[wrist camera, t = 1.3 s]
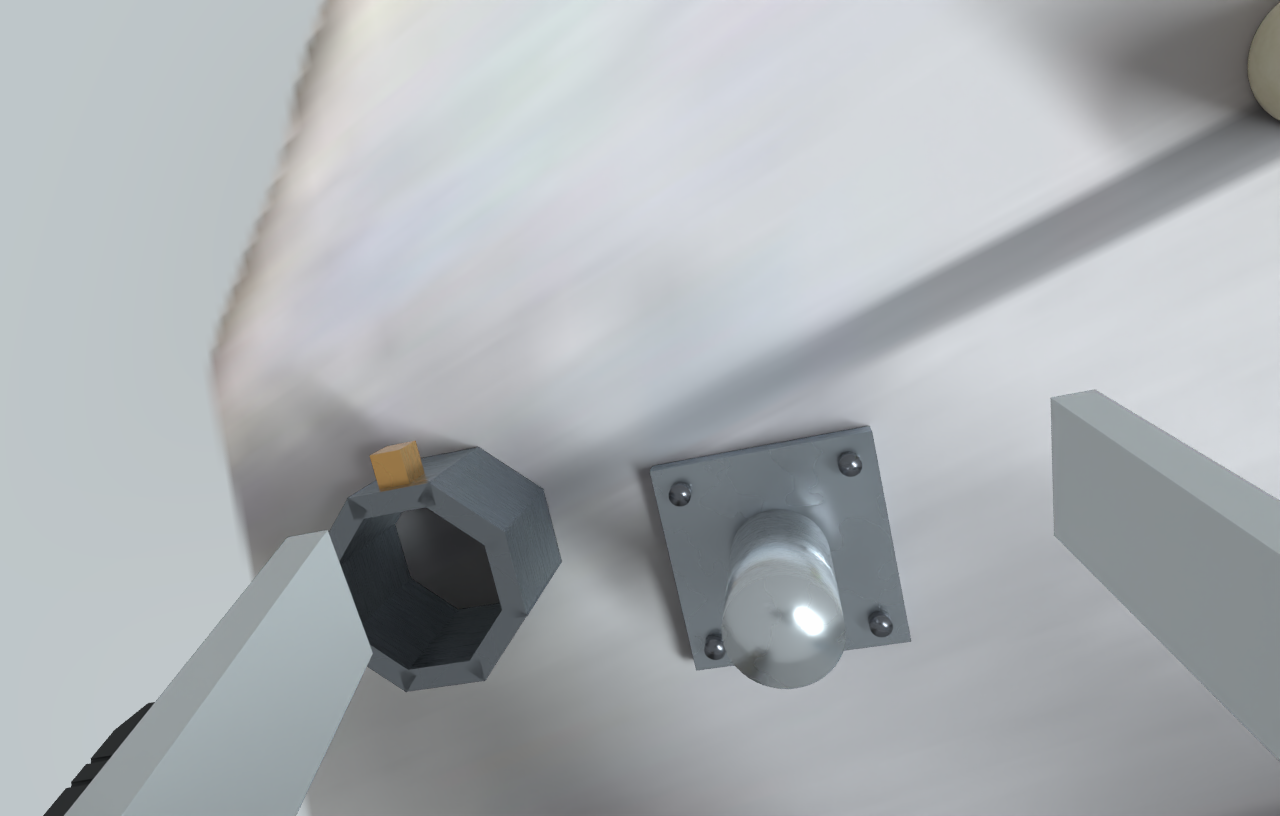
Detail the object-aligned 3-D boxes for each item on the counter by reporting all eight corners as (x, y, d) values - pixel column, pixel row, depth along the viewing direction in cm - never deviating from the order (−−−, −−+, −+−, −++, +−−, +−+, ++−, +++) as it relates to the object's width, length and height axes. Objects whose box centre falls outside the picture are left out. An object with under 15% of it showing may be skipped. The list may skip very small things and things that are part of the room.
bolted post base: (907, 631, 38) (946, 739, 30) (698, 660, 40) (680, 769, 32) (869, 425, 37) (898, 480, 28) (652, 465, 38) (621, 527, 30)
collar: (575, 611, 41) (542, 673, 35) (408, 636, 42) (351, 699, 36) (522, 406, 39) (479, 436, 33) (351, 441, 41) (281, 475, 35)
